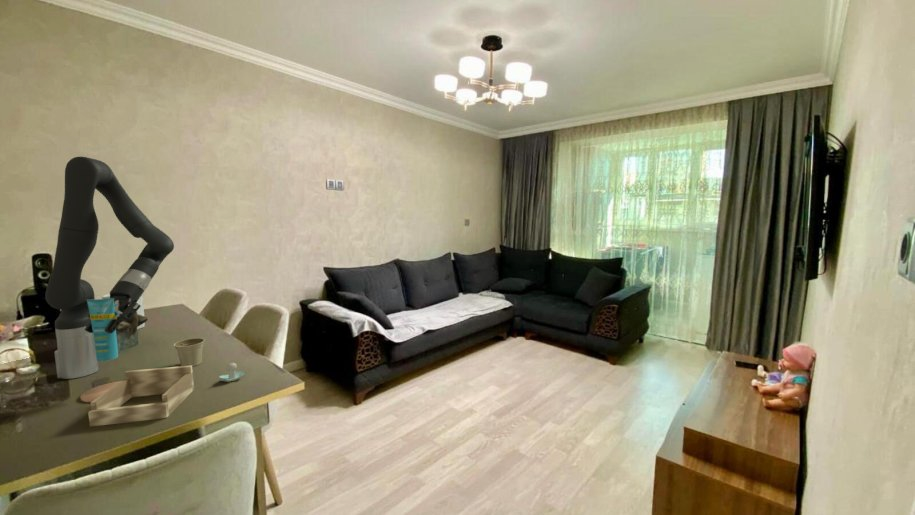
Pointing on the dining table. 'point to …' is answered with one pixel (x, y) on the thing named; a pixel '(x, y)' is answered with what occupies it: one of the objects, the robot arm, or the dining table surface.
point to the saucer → (97, 392)
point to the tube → (103, 328)
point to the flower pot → (190, 351)
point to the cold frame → (143, 383)
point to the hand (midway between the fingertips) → (98, 331)
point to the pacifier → (231, 373)
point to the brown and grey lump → (129, 332)
